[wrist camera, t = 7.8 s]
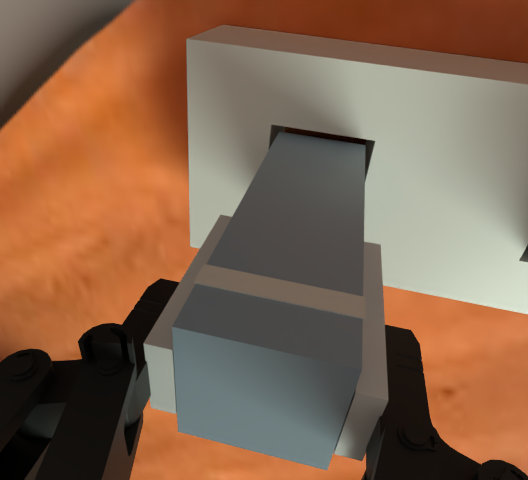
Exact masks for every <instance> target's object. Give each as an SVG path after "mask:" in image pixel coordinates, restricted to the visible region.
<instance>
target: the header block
mask: <svg viewBox="0 0 528 480" xmlns="http://www.w3.org/2000/svg"><path fill="white" fill-rule="evenodd" d="M186 50H187V102H188V154H189V206H190V247H195V248H201V246H202V245H203V243H204V241H205V240H206V238H207V236H208V235H209V233H210V231H211V230H212V228H213V226H214V225H215V223H216V221H217V220H218V218H219V216H220V215H225V216H230V217H232V216H233V215H234V213H235V211H236V209H237V207H238V205H239V204H240V202H241V200H242V198H243V196H244V195H245V193H246V191H247V189H248V187H249V185H250V184H251V182H252V180H253V178H254V176H255V174H256V173H257V171H258V169H259V167H260V165H261V164H262V162H263V160H264V158H265V156H266V154H267V153H268V151H269V149H270V147H271V145H272V144H273V142H274V140H275V138H276V136H277V134H278V133H279V132H285V131H286V127H291V128H297V129H303V130H310V131H316V132H322V133H329V134H335V135H342V136H348V137H354V138H361V139H366V143H365V208H364V242H370V243H375V244H380V245H381V260H382V280H383V285H384V286H389V287H394V288H399V289H404V290H409V291H414V292H419V293H424V294H429V295H434V296H439V297H444V298H449V299H454V300H459V301H464V302H469V303H474V304H479V305H484V306H489V307H494V308H499V309H504V310H509V311H514V312H519V313H524V314H528V251H527V249H526V247H527V245H528V63H520V62H512V61H504V60H496V59H489V58H481V57H473V56H465V55H457V54H449V53H442V52H434V51H426V50H418V49H410V48H403V47H395V46H387V45H379V44H371V43H364V42H356V41H348V40H340V39H332V38H324V37H317V36H309V35H301V34H293V33H285V32H278V31H270V30H262V29H254V28H246V27H239V26H231V25H221V26H218V27H216V28H213V29H210V30H208V31H205V32H203V33H200V34H197V35H195V36H192V37H190V38H187V39H186Z"/></svg>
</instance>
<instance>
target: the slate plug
mask: <svg viewBox="0 0 528 480" xmlns="http://www.w3.org/2000/svg"><path fill="white" fill-rule="evenodd" d="M364 208H365V145H361V144H355V143H349V142H342V141H336V140H330V139H323V138H317V137H311V136H305V135H298V134H292V133H286V132H279V133H278V134H277V136H276V138H275V140H274V142H273V144H272V145H271V147H270V149H269V151H268V153H267V154H266V156H265V158H264V160H263V162H262V164H261V165H260V167H259V169H258V171H257V173H256V174H255V176H254V178H253V180H252V182H251V184H250V185H249V187H248V189H247V191H246V193H245V195H244V196H243V198H242V200H241V202H240V204H239V205H238V207H237V209H236V211H235V213H234V215H233V216H232V218H231V220H230V222H229V224H228V226H227V227H226V229H225V231H224V233H223V235H222V236H221V238H220V240H219V242H218V244H217V246H216V247H215V249H214V251H213V253H212V255H211V256H210V258H209V260H208V262H207V264H203V266H202V268H201V270H200V272H199V273H198V275H197V277H196V279H195V281H194V287H193V289H192V291H191V293H190V295H189V297H188V298H187V300H186V302H185V304H184V306H183V307H182V309H181V311H180V313H179V315H178V317H177V318H176V320H175V322H174V324H173V326H172V336H173V353H174V370H175V387H176V404H177V421H178V432H182V433H186V434H189V435H193V436H197V437H201V438H205V439H209V440H213V441H216V442H220V443H224V444H228V445H232V446H236V447H239V448H243V449H247V450H251V451H255V452H259V453H263V454H266V455H270V456H274V457H278V458H282V459H286V460H289V461H293V462H297V463H301V464H305V465H309V466H313V467H316V468H320V469H324V470H327V469H328V466H329V463H330V460H331V457H332V454H333V452H334V449H335V446H336V443H337V440H338V437H339V434H340V432H341V429H342V426H343V423H344V420H345V417H346V414H347V411H348V409H349V406H350V403H351V400H352V397H353V394H354V391H355V388H356V386H357V383H358V380H359V377H360V374H361V371H362V335H363V323H364V320H365V297H363V272H364Z"/></svg>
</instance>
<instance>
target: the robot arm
mask: <svg viewBox="0 0 528 480" xmlns="http://www.w3.org/2000/svg"><path fill="white" fill-rule="evenodd" d="M231 218H232V217H230V216H225V215H220V216H219V218H218V220H217V221H216V223H215V225H214V226H213V228H212V230H211V231H210V233H209V235H208V236H207V238H206V240H205V241H204V243H203V245H202V246H201V248H200V250H199V251H198V253H197V255H196V256H195V258H194V260H193V261H192V263H191V265H190V266H189V268H188V270H187V271H186V273H185V275H184V276H183V278H182V280H181V281H180V282H175V281H170V280H165V279H159V280H158V281H156V282H155V283H153V284H152V285H150V286H149V287H148V288H147V289H146V291H145V292H144V293H143V295H142V296H141V298H140V301H138V302H137V304H136V305H135V307H134V309H133V310H132V311H131V312H130V314H129V315H128V317H127V318H126V320H125V321H124V323H123V324H122V325H120V324H115V323H108V324H101V325H98V326H95V327H93V328H91V329H90V330H88V331H87V332H85V333H84V334H83V335H82V337H81V338H80V339H79V341H78V344H79V348H80V352H81V356H82V359H79V360H67V361H51V359H50V357H49V355H48V354H47V353H46V352H44V351H42V350H39V349H27V350H22V351H18V352H16V353H14V354H12V355H9V356H8V357H6V358H5V359H4V360H3V361H1V362H0V480H129V479H130V475H131V471H132V467H133V463H134V458H135V454H136V450H137V446H138V441H139V437H140V433H141V429H142V425H143V409H144V407H145V405H146V403H147V401H148V399H149V397H150V403H151V408H154V409H158V410H162V411H166V412H170V413H174V414H176V413H177V404H176V387H175V370H174V353H173V336H172V326H173V324H174V322H175V320H176V318H177V317H178V315H179V313H180V311H181V309H182V307H183V306H184V304H185V302H186V300H187V298H188V297H189V295H190V293H191V291H192V289H193V287H194V281H195V279H196V277H197V275H198V273H199V272H200V270H201V268H202V266H203V264H207V262H208V260H209V258H210V256H211V255H212V253H213V251H214V249H215V247H216V246H217V244H218V242H219V240H220V238H221V236H222V235H223V233H224V231H225V229H226V227H227V226H228V224H229V222H230V220H231ZM363 297H365V320H364V323H363V335H362V371H361V374H360V377H359V380H358V383H357V386H356V388H355V391H354V394H353V397H352V400H351V403H350V406H349V409H348V411H347V414H346V417H345V420H344V423H343V426H342V429H341V432H340V434H339V437H338V440H337V443H336V446H335V449H334V454H337V455H341V456H345V457H349V458H352V459H356V460H360V461H362V460H363V458H364V456H365V453H366V471H365V473H364V475H363V477H362V479H361V480H528V476H527V475H526V474H525V473H524V472H522V471H521V470H520V469H518V468H517V467H516V466H514V465H512V464H510V463H507V462H505V461H502V460H489V461H487V462H485V463H482V465H481V464H479V463H477V462H475V461H474V460H472V459H470V458H468V457H466V456H464V455H463V454H461V453H459V452H457V451H456V450H454V449H453V448H451V447H450V446H449V445H447V444H446V443H445V442H444V441H443V440H442V439H441V438H440V436H439V434H438V432H437V430H436V429H435V428H434V427H433V425H432V423H431V419H430V414H429V407H428V400H427V393H426V386H425V379H424V373H423V365H422V361H421V359H422V357H421V350H420V344H419V342H418V341H417V339H416V337H415V336H414V334H413V333H412V331H411V330H408V329H403V328H398V327H394V326H389V325H385V320H384V300H383V280H382V260H381V245H380V244H375V243H370V242H364V272H363Z"/></svg>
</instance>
